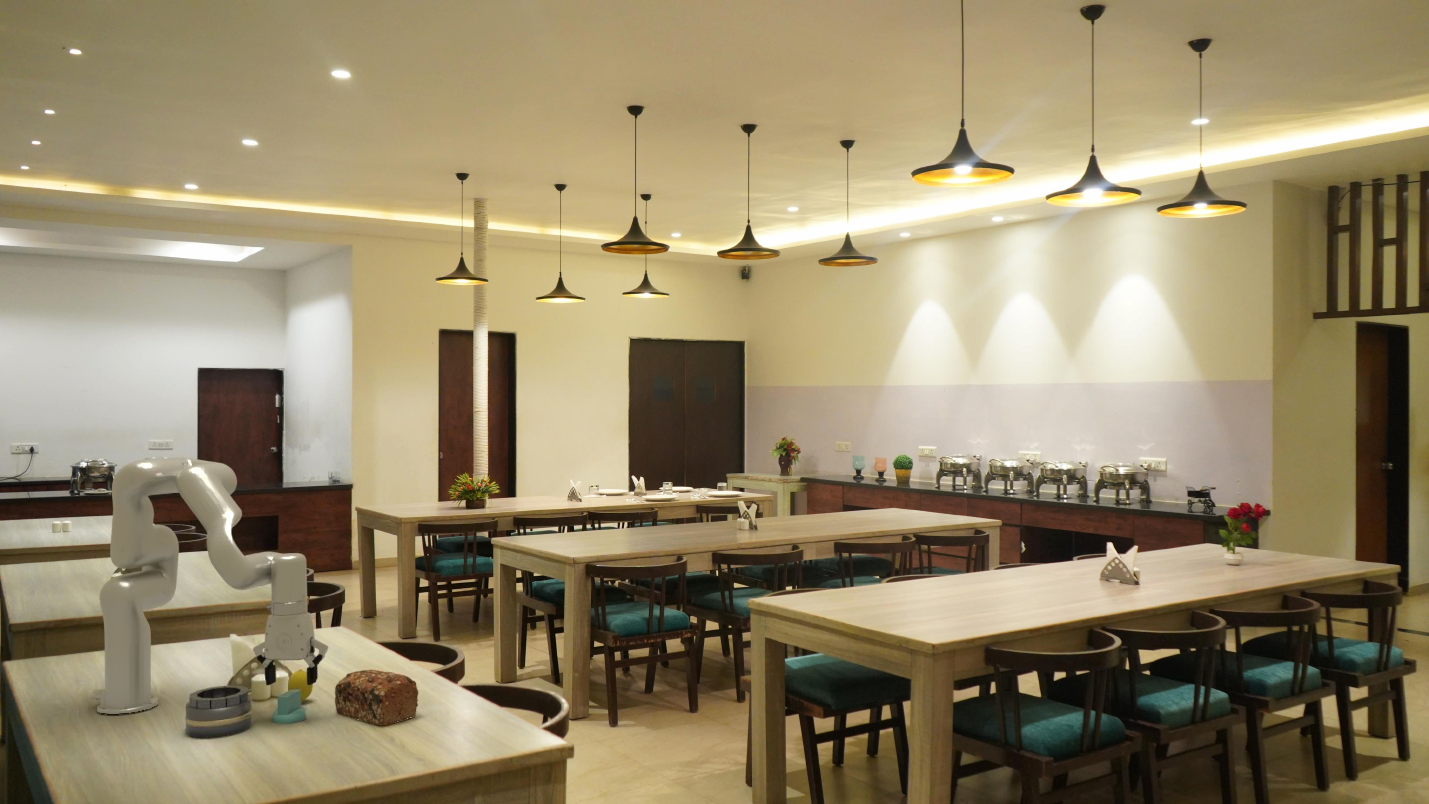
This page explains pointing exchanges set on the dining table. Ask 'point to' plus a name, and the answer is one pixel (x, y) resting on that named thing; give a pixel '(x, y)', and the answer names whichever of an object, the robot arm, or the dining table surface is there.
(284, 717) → the teal knob
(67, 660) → the dining table surface
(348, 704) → the bread
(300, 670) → the lemon
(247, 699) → the lens barrel
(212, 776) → the dining table surface
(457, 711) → the dining table surface
